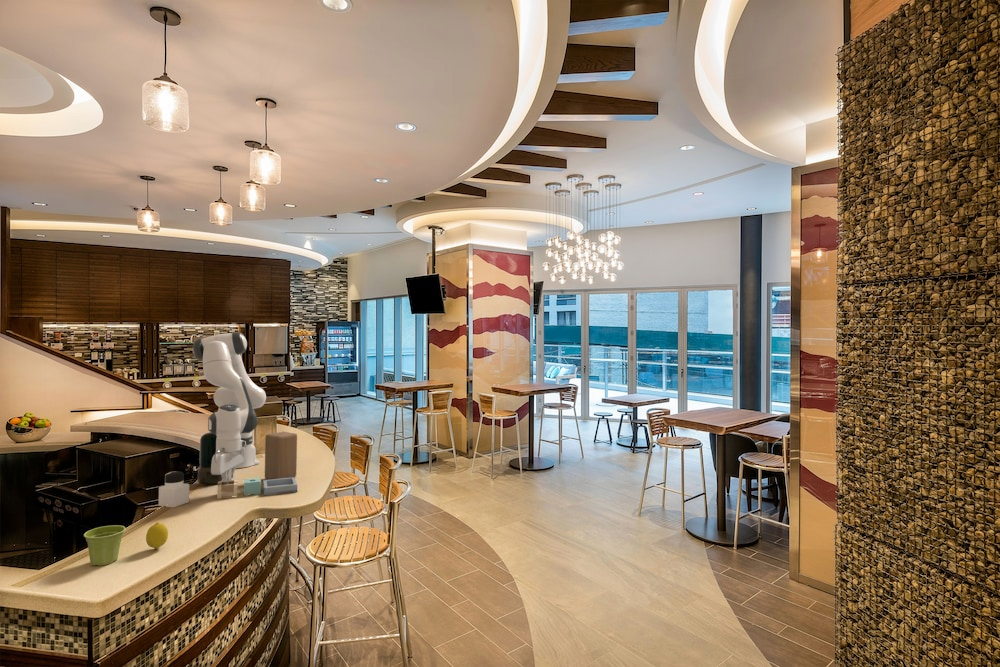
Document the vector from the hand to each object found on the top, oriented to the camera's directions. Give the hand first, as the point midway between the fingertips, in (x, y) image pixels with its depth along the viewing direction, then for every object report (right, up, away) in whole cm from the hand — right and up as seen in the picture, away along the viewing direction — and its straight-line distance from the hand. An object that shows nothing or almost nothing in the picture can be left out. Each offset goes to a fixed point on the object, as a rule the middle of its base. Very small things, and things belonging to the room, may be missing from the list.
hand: (227, 480), depth 209 cm
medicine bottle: (-14, -6, -12) cm, 19 cm away
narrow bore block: (+8, -6, +4) cm, 11 cm away
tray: (+17, -6, +9) cm, 20 cm away
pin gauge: (0, -4, 0) cm, 4 cm away
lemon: (+6, -6, -53) cm, 54 cm away
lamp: (-16, -6, +16) cm, 24 cm away
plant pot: (-2, -6, -62) cm, 62 cm away
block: (+10, -7, +26) cm, 29 cm away
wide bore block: (0, -6, 0) cm, 6 cm away
